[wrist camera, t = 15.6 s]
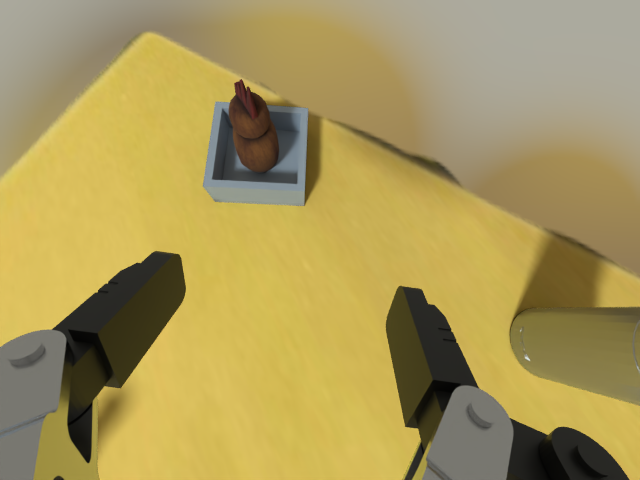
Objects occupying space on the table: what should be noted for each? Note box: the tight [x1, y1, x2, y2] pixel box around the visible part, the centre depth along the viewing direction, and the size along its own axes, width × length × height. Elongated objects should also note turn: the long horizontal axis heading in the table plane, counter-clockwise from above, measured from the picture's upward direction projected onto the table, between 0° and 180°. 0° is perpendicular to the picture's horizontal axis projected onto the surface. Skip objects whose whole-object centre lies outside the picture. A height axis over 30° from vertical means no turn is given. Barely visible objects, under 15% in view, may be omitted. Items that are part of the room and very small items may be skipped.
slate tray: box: [203, 102, 308, 206], centre depth 39 cm, size 13×13×5 cm
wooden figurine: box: [228, 79, 279, 173], centre depth 33 cm, size 7×6×15 cm
